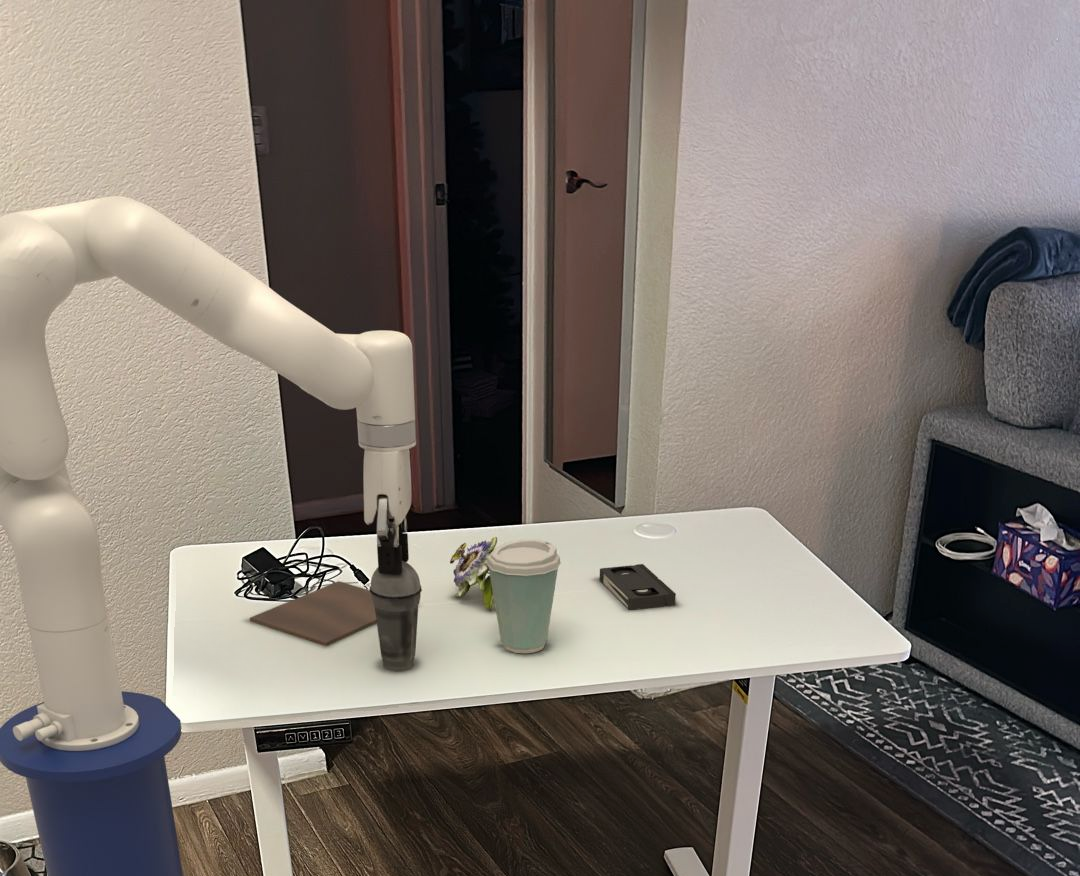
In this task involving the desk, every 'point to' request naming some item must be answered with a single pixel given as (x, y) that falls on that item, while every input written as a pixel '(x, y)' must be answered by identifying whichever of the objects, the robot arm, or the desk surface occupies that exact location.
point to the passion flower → (474, 569)
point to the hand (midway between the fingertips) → (393, 566)
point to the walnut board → (323, 614)
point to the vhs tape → (637, 587)
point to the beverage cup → (397, 615)
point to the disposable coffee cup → (523, 592)
